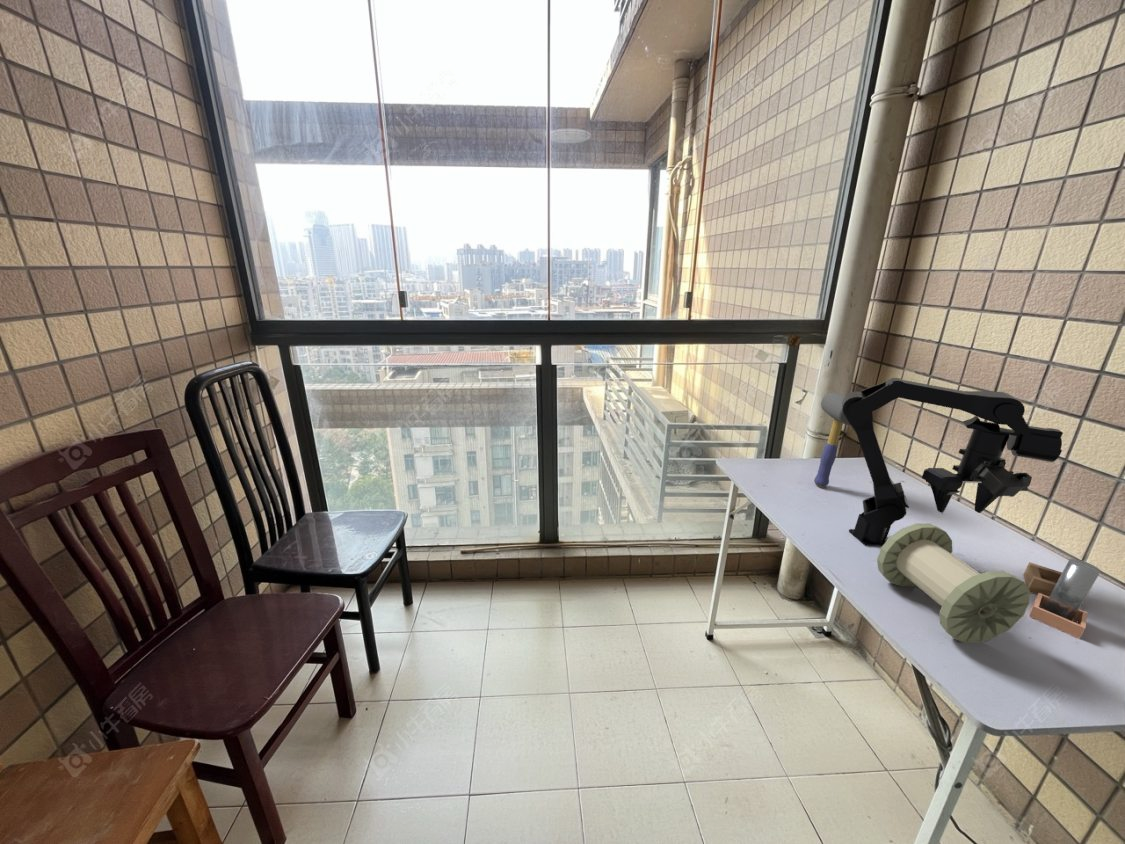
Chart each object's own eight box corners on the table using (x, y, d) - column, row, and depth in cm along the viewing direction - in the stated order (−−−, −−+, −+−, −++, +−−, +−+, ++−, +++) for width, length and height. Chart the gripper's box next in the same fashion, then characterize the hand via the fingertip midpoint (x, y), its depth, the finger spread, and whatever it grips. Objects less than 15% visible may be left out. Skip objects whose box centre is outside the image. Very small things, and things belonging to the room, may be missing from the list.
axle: (1049, 623, 85) (1079, 569, 80) (1035, 609, 88) (1063, 557, 84) (1075, 629, 84) (1107, 574, 79) (1059, 614, 87) (1089, 561, 83)
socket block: (1028, 616, 86) (1033, 606, 86) (1033, 602, 90) (1038, 592, 90) (1079, 638, 81) (1085, 628, 81) (1082, 622, 85) (1087, 612, 85)
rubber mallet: (842, 496, 131) (870, 403, 120) (816, 494, 131) (842, 401, 121) (823, 478, 142) (847, 391, 132) (799, 476, 143) (821, 389, 133)
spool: (869, 581, 95) (889, 523, 89) (932, 580, 96) (955, 523, 91) (935, 643, 79) (964, 577, 74) (1009, 641, 80) (1043, 576, 75)
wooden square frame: (1027, 591, 93) (1034, 578, 92) (1022, 574, 99) (1029, 562, 98) (1077, 608, 89) (1085, 595, 88) (1070, 590, 94) (1077, 577, 93)
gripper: (979, 465, 85) (952, 532, 91) (1066, 466, 87) (1034, 532, 92) (931, 443, 96) (909, 504, 101) (1009, 445, 97) (983, 505, 102)
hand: (958, 511), depth 99 cm, fingers open, 9 cm apart
